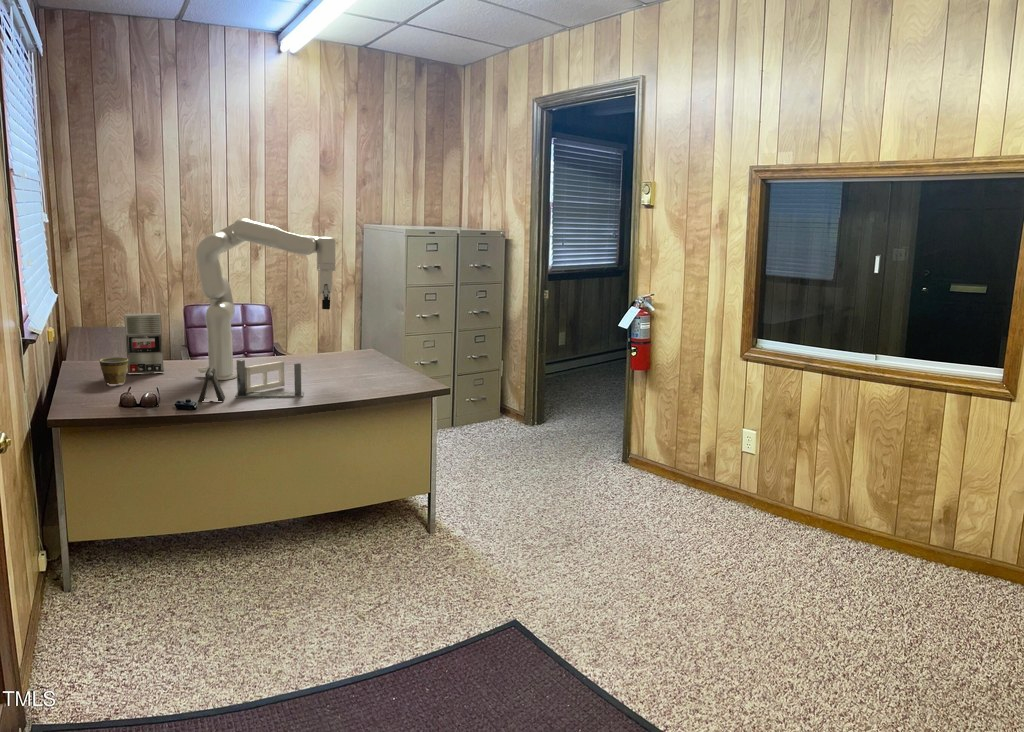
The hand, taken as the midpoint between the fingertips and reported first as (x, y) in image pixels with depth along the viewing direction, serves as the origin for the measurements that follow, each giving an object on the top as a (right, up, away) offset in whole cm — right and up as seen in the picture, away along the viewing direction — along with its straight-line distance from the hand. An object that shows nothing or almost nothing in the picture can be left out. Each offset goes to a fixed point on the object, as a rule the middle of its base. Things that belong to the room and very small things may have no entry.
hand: (326, 307), depth 324 cm
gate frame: (-15, -36, -26) cm, 47 cm away
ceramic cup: (-80, -32, -20) cm, 88 cm away
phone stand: (-34, -38, -36) cm, 63 cm away
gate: (-19, -34, -21) cm, 44 cm away
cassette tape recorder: (-76, -28, -1) cm, 81 cm away
